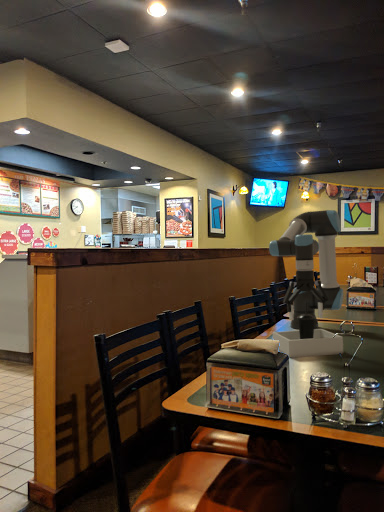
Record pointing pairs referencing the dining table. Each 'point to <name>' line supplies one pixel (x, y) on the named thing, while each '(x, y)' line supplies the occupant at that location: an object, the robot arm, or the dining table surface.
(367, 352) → the dining table surface
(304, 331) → the drinking cup
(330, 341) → the box
